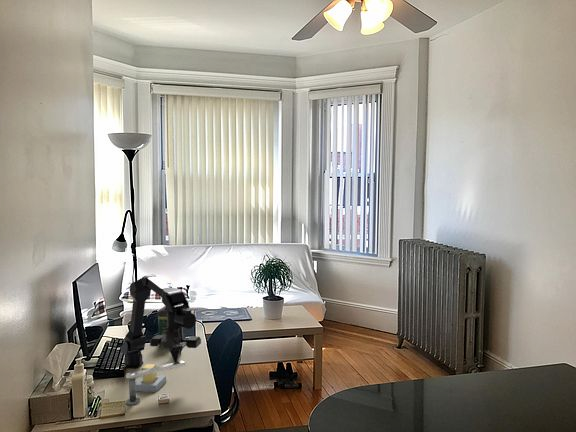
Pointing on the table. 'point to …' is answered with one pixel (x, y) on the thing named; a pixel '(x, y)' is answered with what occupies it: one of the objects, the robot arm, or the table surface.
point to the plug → (149, 377)
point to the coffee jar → (162, 321)
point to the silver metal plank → (154, 369)
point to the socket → (150, 384)
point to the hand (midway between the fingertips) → (176, 363)
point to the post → (132, 393)
